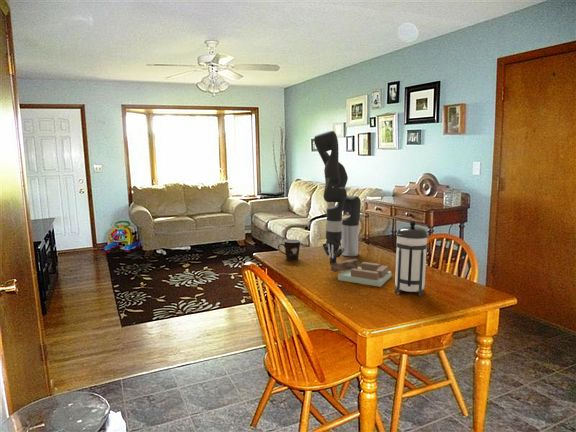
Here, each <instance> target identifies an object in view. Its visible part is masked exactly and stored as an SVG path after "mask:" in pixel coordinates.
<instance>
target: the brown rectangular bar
mask: <svg viewBox="0 0 576 432" xmlns="http://www.w3.org/2000/svg"><path fill="white" fill-rule="evenodd" d="M357 267H359V259H358V258H351V259H347V260H341V261H336V262H335V263H331V265H330V270H331V271H332V272H334V273H338V272H342V271H344V270H347V269H352V268H357Z"/></svg>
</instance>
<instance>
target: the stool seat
mask: <svg viewBox="0 0 576 432" xmlns="http://www.w3.org/2000/svg"><path fill="white" fill-rule="evenodd" d="M391 277H392V271H391V270H389V265H385V264H383V265H381V264H380V263H376V262H375V263H373V262H367V261H363V262H361V265H360V266H358V267H357V268H352V269H347V270H343V271H340V273H337V281H343V282H348V283H349V282H350V283H355V284H361V285H366V286H373V287H383V285H384V284H385V283H386V282H387V281H388V280H390V278H391Z"/></svg>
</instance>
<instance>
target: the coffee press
mask: <svg viewBox="0 0 576 432" xmlns="http://www.w3.org/2000/svg"><path fill="white" fill-rule="evenodd" d="M409 225H410V226H409ZM409 225H408V226H401V227H400V228H399V229H397V231H396V233H395V235H396V242H395V243H396V244H395V247H396V253H395V254H396V255H395V274H394V275H395V276H394V277H395V278H394V279H395V281H394V285H395V286H394V287H396V288H395V290H394V294H396V295H399V294H401V293H402V291H403V292H409V293H412V292H413V293H414V292H415V293H417V295H418V296H419V297H423V296H424V294H425V293H424V291H423V290H424V289H425V284H426V283H425V282H426V268H427V267H426V266H427V252H428V251H427V250H428V238H429V234H428V231H427V230H426V229H425V228H423V227H419V226H416V222H415V221H413V220H412V221H410V222H409Z"/></svg>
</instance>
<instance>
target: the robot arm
mask: <svg viewBox="0 0 576 432" xmlns="http://www.w3.org/2000/svg"><path fill="white" fill-rule="evenodd" d="M338 139H339V138H338V136H337V134H336V132H335V130H328V131H325V132H322V133H319V134H316V135H314V138H313V142H314V146H315V148H316V150H317V152H318V155H319V156H320V158H321V160H322V163H323V164H324V169H323V170H324V172H323V173H324V180H325V185H324V186H325V187H324V189H323V190H324V191H323V196H322V197H323V199H324V201H325V202H327V203H337V204H335V206H330V207H328V208H327V209H326V223H325V240H326V241H325V243H322V247H323V250H324V251H325V253H326V256H328V257H329V265H330V266H331V263H335V262H337V258H340V257H341V256H344V257H356V256H358V254H359V227H360V226H359V223H360V219H361V218H360V216H361V207H362V206H361V203H362V202H361V201H362V200H361V199H360V197H359V196H356V195H348V194H347V189H346V186H347V183H348V179H349V178H348V173H347V171H346V168H345V166H344V165H343V164H342V163H341V162H339V140H338ZM329 151H330V154H329V153H328V152H329ZM343 212H344V213H350V214H349V215H350V216H348V217H345V218H343Z"/></svg>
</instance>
